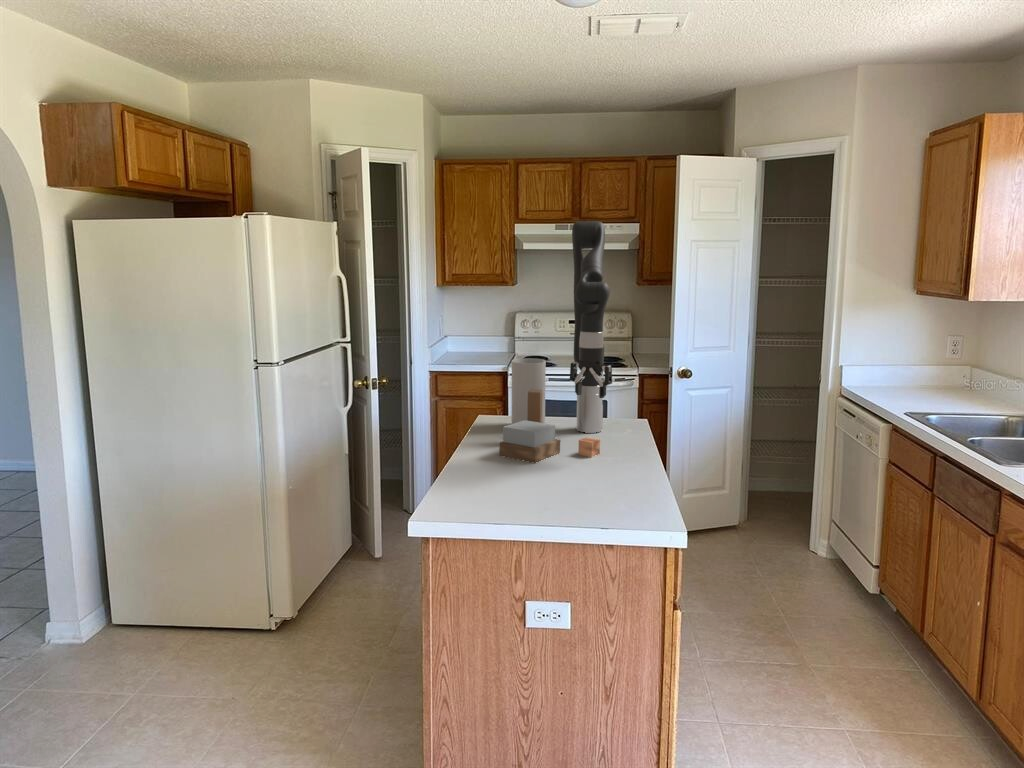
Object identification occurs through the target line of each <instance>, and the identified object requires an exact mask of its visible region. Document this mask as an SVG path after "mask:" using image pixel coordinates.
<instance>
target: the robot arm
mask: <svg viewBox="0 0 1024 768" xmlns="http://www.w3.org/2000/svg"><path fill="white" fill-rule="evenodd" d="M571 240H572V255H573V256H572V257H573V309H574V311H573V312H574V332H573V336H574V337H573V361H574V362H571V363H570V369H569V381H571V382H573V383H574V393H575V394H576V429H577V430H576V431H577V432H579V431H580V432H579V433H583V432H585V433H586V434H595V433H596V432H597V433H600V431H601V430H603V420H604V419H603V418H604V417H603V416H604V415H603V414H604V404H603V398H605V397H606V395H607V386H609V385H612V384H613V368H612V367H613V366H612V365H611V364H609V365H604V362H605V344H604V317H605V310H606V309H607V308H606V307H607V304H608V301H609V297H610V294H611V293H610V291H611V290H610V286H609V285H608V283H607V282H604V281H603V279H604V276H603V274H604V273H603V270H604V269H603V259H604V254H605V244H606V243H605V242H606V230H605V225H604V223H603V222H602V221H599V220H597V221H596V220H594V221H590V220H589V221H575V222H574V223H573V225H572V230H571ZM583 250H590V251H589V252H588V253H587V254H586V255H585V256H584V255H583ZM578 369H579V373H578ZM601 432H602V431H601ZM597 433H596V434H597Z"/></svg>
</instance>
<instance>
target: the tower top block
mask: <svg viewBox="0 0 1024 768" xmlns="http://www.w3.org/2000/svg"><path fill="white" fill-rule="evenodd" d="M502 433H503V434H502V441H503V442H506V443H511V444H516V445H522V446H527V447H533V448H535V447H538V446H541V445H543V444H546V443H549V442H551V441H554V440H555V439H556V425H555V424H551V423H546V422H545V423H539V422H533V421H527V420H523V421H520V422H517V423H514V424H512V423H511V424H508V425H504V426H502Z"/></svg>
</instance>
